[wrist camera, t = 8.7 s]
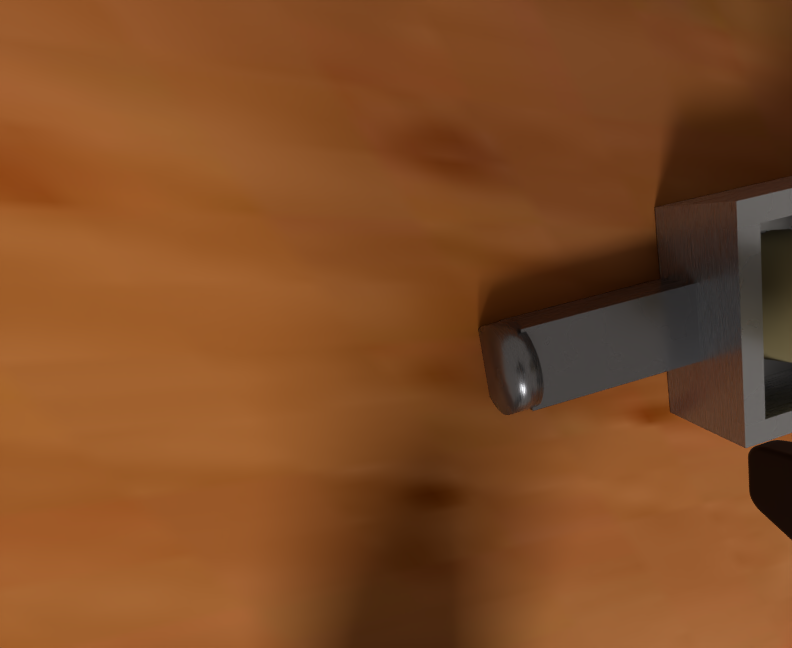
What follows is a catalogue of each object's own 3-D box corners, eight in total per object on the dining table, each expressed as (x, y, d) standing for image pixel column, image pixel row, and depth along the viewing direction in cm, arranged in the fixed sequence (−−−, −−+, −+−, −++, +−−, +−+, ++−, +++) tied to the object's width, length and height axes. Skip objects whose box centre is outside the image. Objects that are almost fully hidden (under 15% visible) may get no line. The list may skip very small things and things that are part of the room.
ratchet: (816, 356, 25) (935, 384, 21) (493, 455, 22) (546, 514, 18) (817, 167, 23) (950, 150, 18) (458, 250, 20) (507, 255, 15)
